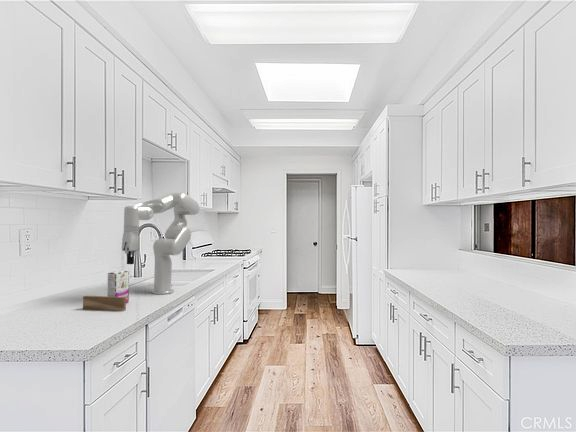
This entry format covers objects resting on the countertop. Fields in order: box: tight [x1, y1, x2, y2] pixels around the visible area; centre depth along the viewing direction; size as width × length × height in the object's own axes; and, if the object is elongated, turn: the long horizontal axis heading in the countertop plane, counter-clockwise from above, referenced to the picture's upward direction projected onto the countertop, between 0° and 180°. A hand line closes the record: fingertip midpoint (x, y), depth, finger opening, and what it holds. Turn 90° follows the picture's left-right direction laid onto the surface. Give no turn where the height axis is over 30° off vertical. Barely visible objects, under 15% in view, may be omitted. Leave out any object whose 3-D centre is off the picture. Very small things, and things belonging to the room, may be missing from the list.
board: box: [82, 295, 127, 312], centre depth 191 cm, size 2×20×6 cm, turn 84°
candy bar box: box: [107, 269, 130, 304], centre depth 203 cm, size 11×5×16 cm, turn 168°
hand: (130, 263), depth 215 cm, fingers closed
